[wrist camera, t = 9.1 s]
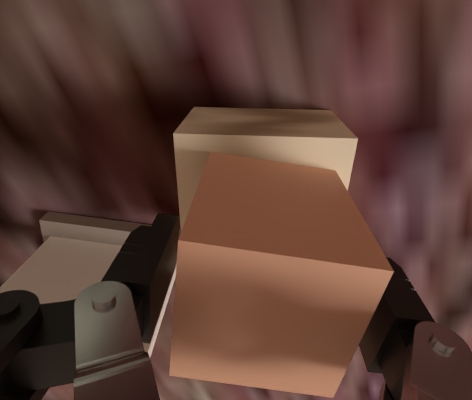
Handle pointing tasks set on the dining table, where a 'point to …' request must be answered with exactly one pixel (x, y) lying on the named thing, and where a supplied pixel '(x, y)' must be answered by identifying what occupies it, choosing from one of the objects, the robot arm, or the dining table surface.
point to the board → (74, 259)
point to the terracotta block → (273, 278)
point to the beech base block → (259, 142)
